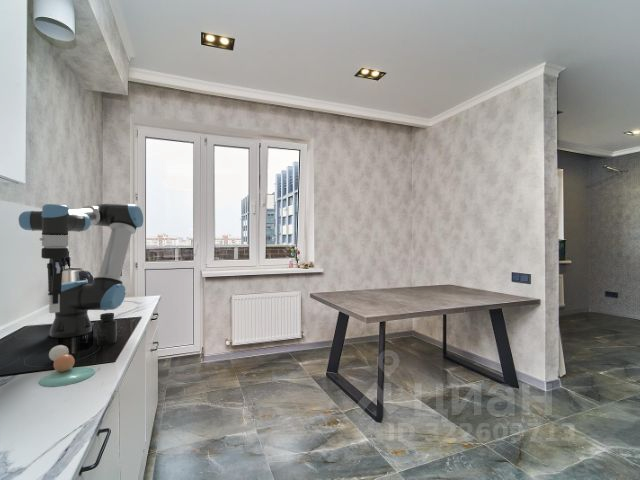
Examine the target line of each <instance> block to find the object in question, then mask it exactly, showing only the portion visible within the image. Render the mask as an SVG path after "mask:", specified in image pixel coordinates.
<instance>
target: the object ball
mask: <svg viewBox="0 0 640 480" xmlns="http://www.w3.org/2000/svg"><path fill="white" fill-rule="evenodd" d="M75 361H76V360H75V358H74V356H73V354H70V353H69V354H63V355H60V356H59V357H57V358H56V359H55V361H53V368H54V370H55V372H56V371H58V372H65V371H68V370H70V369H71V368H74V367H73V366H75V363H76V362H75Z"/></svg>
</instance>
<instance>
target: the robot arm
mask: <svg viewBox="0 0 640 480" xmlns="http://www.w3.org/2000/svg"><path fill="white" fill-rule="evenodd" d="M143 215H144V214H143V211H142V208H141V207H140V206H139V205H137V204H133V203H132V204H131V203H128V204H127V203H123V204H122V203H101V204H94V205H86V206H83V207H82V208H70V209H69V206H68V205H66V204H57V203H56V204H54V203H46V204H45V203H44V205H42V210H38V211H37V210H26V211H22V212H21V213H20V215H19V216H18V225H19V227H20V228H21V229H23V230H25V231H32V232H35V231H38V232H39V231H40V232H41V237H40V238H39V241H41V246H42V248H41V252H40V253H41V258H42V259H49V262H48V263H47V264H46V268H47V284H48V285H47V286H48V287H47V291H48V293H47V295H48V297H49V306H48V307H49V309H48V310H49V311H48V312H49V314H54V315H55V316H54V320H53V323H52V325H51V327H50V330H49V337H51V338H56V339H59V338H61V339H62V338H63V339H64V338H73V337H79V336H83V335H86V334H89V333H91V332H92V330H93V325H92V322H91V320H90V317H89V314H88V311H113V310H115V309H116V310H117V309H118V308H119V307H120V306H121V305H122V304H123V302H124V300H125V297H126V287H125V285H123V280H122V279H121V275H122V271H123V269H124V265H125V260H126V258H127V257H126V255H127V252H128V249H129V246H130V245H129V244H130V241H131V237H132V235H134V234H135V233H136V231H137V228H139V229H140V228H141V227H142V226H143V225H144V216H143ZM91 226H100V227H108V228H110V230H111V231H110V234H109V239H108V242H107V246H106V249H105V251H104V256H103V259H102V263H101V265H100V269H99V272H98V273H99V274H98V275H97V276H95V277H94V278H93V280H92V283H89V281H88V280H83V279H82V280H77V281H76V280H75V281H69V282H63V271H64V264H63V262H62V260H61V259H67V258H69V248H68V246H69V236H70V235H69V232H75V233H76V232H77V233H78V232H79V233H80V232H84V231H87V230H88V229H89V228H90V227H91Z"/></svg>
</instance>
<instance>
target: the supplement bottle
mask: <svg viewBox="0 0 640 480" xmlns="http://www.w3.org/2000/svg"><path fill="white" fill-rule="evenodd" d="M117 327H118V322H117V320H116V319H115V313H114V312H105V313H100V317H99V321H98V322H97V325H96V334H97V335H96V343H97V345H99V346H106V345H107V346H108V345H112V344H115V343H116V342H117V339H118V338H117V336H118V335H117V333H118V329H117Z"/></svg>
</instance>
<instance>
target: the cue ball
mask: <svg viewBox="0 0 640 480" xmlns="http://www.w3.org/2000/svg"><path fill="white" fill-rule="evenodd" d="M63 354H69V355H70V350H69V348H68V347H67V346H66V345H63V344H58V345H55V346H54V347H52V348H51V349H50V350H49V353H48V358H49V359H50V360H51V361H53V362H54V361H55V359H56V358H57V357H59V356H60V355H63Z"/></svg>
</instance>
